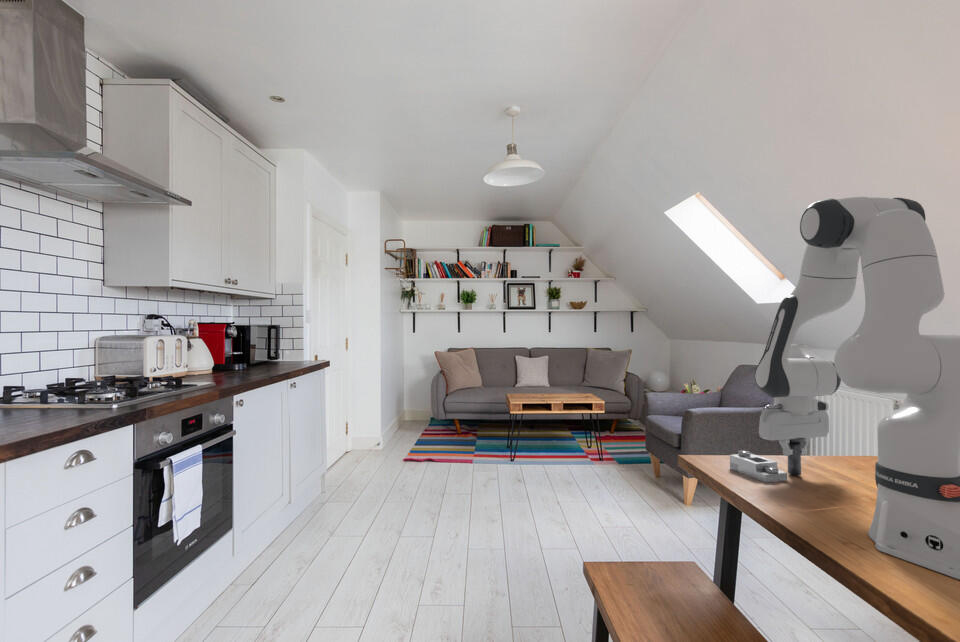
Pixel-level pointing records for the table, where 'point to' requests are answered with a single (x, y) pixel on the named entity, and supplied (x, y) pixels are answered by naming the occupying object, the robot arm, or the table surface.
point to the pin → (795, 456)
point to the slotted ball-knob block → (756, 467)
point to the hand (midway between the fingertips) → (794, 454)
